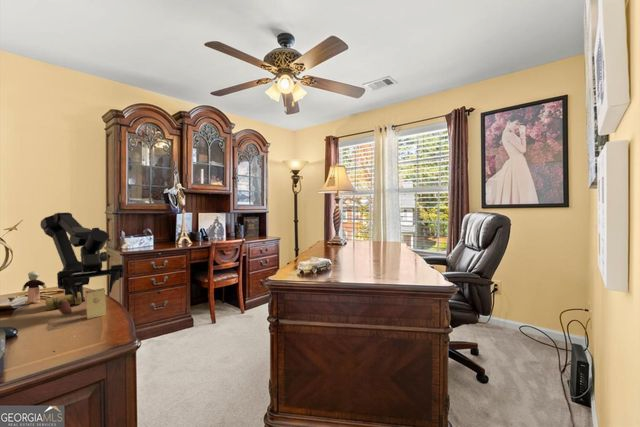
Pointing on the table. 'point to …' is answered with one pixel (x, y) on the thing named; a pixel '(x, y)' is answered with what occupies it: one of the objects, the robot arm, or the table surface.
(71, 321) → the tan flat block
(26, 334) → the table surface
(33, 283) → the grandmother figurine
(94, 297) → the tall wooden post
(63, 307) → the gavel
